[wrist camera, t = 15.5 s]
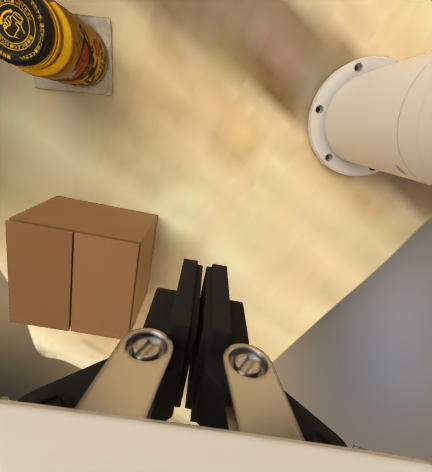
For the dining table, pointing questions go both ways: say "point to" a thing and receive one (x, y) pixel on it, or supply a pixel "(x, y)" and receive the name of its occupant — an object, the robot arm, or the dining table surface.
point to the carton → (67, 256)
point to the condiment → (57, 46)
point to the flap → (102, 285)
